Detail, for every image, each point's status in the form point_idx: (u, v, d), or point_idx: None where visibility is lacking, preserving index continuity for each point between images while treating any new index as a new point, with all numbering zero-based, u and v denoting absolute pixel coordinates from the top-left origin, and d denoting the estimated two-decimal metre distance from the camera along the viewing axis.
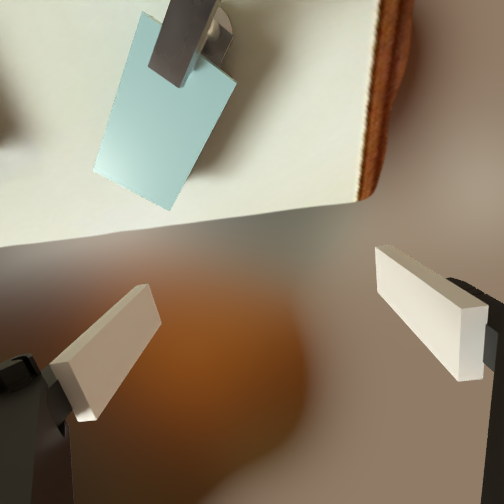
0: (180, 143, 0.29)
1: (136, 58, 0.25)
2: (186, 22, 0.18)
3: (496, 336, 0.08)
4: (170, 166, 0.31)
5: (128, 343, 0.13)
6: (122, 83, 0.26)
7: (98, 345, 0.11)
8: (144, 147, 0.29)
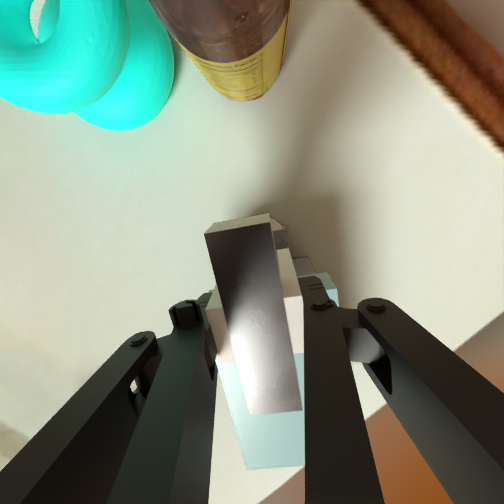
0: None
1: None
2: (263, 344, 0.11)
3: None
4: None
5: None
6: (223, 377, 0.21)
7: None
8: (282, 417, 0.21)
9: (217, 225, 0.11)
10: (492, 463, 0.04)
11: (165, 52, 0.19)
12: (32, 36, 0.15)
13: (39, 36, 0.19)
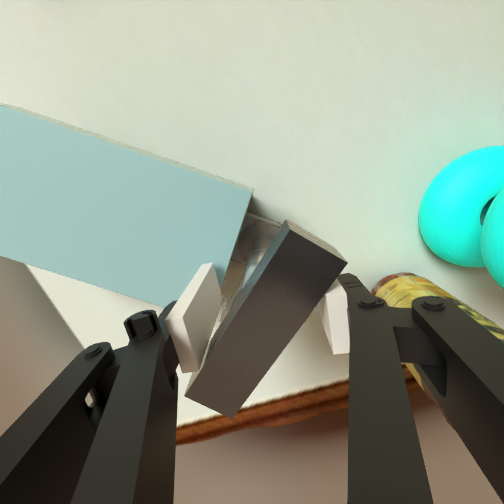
0: (103, 257, 0.18)
1: (193, 185, 0.16)
2: (251, 349, 0.11)
3: None
4: (58, 244, 0.18)
5: (208, 312, 0.14)
6: (153, 162, 0.16)
7: (194, 308, 0.12)
8: (69, 199, 0.17)
9: (293, 226, 0.11)
10: None
11: (450, 259, 0.22)
12: None
13: None
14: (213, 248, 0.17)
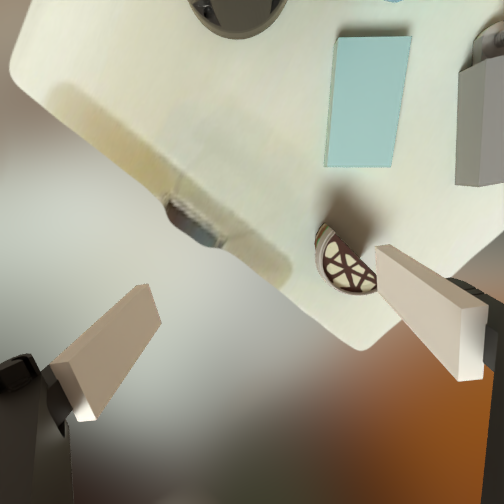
0: (384, 105, 0.37)
1: (341, 67, 0.36)
2: None
3: (496, 336, 0.08)
4: (381, 128, 0.38)
5: (128, 343, 0.13)
6: (335, 89, 0.37)
7: (98, 345, 0.11)
8: (359, 125, 0.38)
9: None
10: None
11: None
12: None
13: None
14: (369, 47, 0.35)
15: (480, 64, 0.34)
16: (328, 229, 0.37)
